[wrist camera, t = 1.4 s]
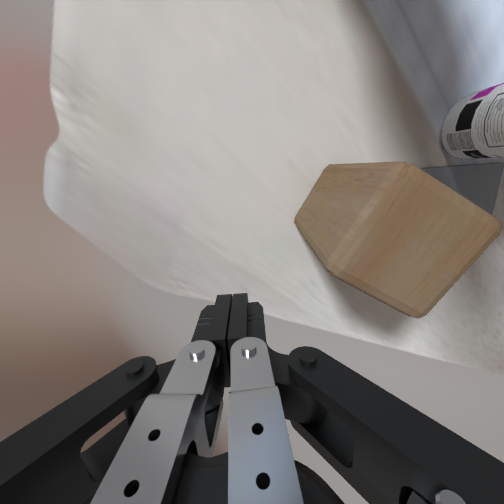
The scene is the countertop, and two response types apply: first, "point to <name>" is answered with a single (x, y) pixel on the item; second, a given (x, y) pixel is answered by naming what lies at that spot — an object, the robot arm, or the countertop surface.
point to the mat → (471, 182)
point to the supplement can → (476, 125)
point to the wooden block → (394, 232)
